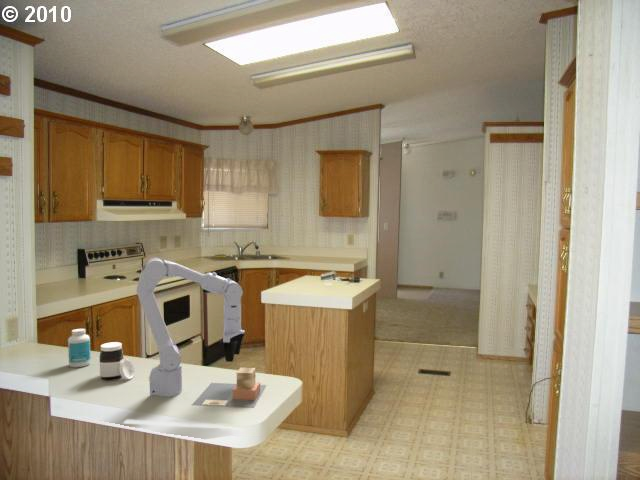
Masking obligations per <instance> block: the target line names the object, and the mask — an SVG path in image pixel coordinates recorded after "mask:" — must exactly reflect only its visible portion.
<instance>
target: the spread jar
mask: <svg viewBox="0 0 640 480" xmlns="http://www.w3.org/2000/svg"><path fill="white" fill-rule="evenodd" d="M122 344H123V343H122V342H118V341H114V342H113V341H111V342H106V343H102V344H101V345H100V353H99V376H100V379H101V380H103V381H108V382H109V380H110V381H115V380H119V379H124V380H126V381H127V380H130V379H132V378H133V377H134V376H135V367H134V364H133V361H131V360H129V359H127V358H126V359H124V351H123V346H122Z"/></svg>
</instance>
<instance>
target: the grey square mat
mask: <svg viewBox="0 0 640 480" xmlns="http://www.w3.org/2000/svg"><path fill="white" fill-rule="evenodd" d="M236 384H237V383H227V382H222V383H221V382H210V384H209V385H208V386H207V387H206V388H205V389H204V390H203V391H202V392H201V394H200V395H199V396H198V397H197V398H196V399H195V400H194V402H193V403H192V404H191V406H207V407H208V406H209V407H230V408H248V409H249V408H250V409H252V408H253V409H254V408H255V407H256V405H257V403H258V402H259V399H260V398H261V396H262V394H263V393H264V391H265V389H266V387H267V385H268V384H260V392H259V394H258V396H257V397H256V399H255V400H243V399H233V388H234V387H235V386H236Z"/></svg>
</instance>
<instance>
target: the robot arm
mask: <svg viewBox="0 0 640 480" xmlns="http://www.w3.org/2000/svg"><path fill="white" fill-rule="evenodd" d="M165 277H167V278H173V277H180V278H182V279H185V280H187V281H188V280H189V281H191V282H194V283H197V284H199V285H200V286H201V289H202V290H205V291H208V292H210V293H214V294H215V295H218V296H223V331H222V339H219V345H220V347H221V349H222V351H223V353H224V358H225V362H226V363H232V362H234V358H235V355H240V353H241V349H242V348H241V347H242V343H243V339H244V337H245V335H246V331H245V330H244V329H242V302H241V301H242V299H241V298H242V296H243V293H244V291H243V289H242V287H241V285H240V284H239V283H237V282H236V281H234V280H233V279H231V278H229V277H227V278H225V277H222V276H219V275H218V273H216V272H215V271H212V272H206V273H204V274H203V273H202V272H198V271H196V270H194V269H192V268H189V267H186V266H184V265H182V264H179V263H177V262H174V261H170V260H168V259H167V260H166V259H162V258H159V257H152V258H149V259H148V260H147V261H146V262H145V263H144V265H143V266H142V268H141V271H140V275H139V278H138V281H137V286H136V294H137V298H138V299H139V300H138V301H139V303H140V305H141V307H142V310H143V312H144V313H143V314H144V315H145V317H146V320H147V323H148V325H149V328H150V330H151V333H152V336H153V339H154V341H155V344H156V346H157V350H158V357H159V364H160V365H159V364H158V365H159V366H158V367H156V366H154V367H152V368H151V370H150V374H149V397H151V396H161V397H173V396H177V395H179V394H181V393H182V392H183V375H182V373H183V372H182V370H183V369H182V365H183V364H181V362H182V357H181V355H180V350H179V347H178V346H177V345H176V344H175V343H174V342H173V340H172V338H171V336H170V333H169V330H168V328H167V325H166V322H165V319H164V317H163V315H162V312H161V309H160V307H159V304H158V302H157V299H156V297H155V296H156V295H155V294H154V291H155V289H156V287H157V286H158V284H159V283H160V282H161V281H162V280H164V279H165Z"/></svg>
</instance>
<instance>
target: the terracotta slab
mask: <svg viewBox="0 0 640 480" xmlns="http://www.w3.org/2000/svg"><path fill="white" fill-rule="evenodd" d="M235 384H236V386H235V387H234V388H233V399H243V400H255V399H256V397H257V396H258V394H259V392H260V385H261V381H255V385H254V386H253V388H252V389H239V388H237V383H235Z"/></svg>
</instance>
